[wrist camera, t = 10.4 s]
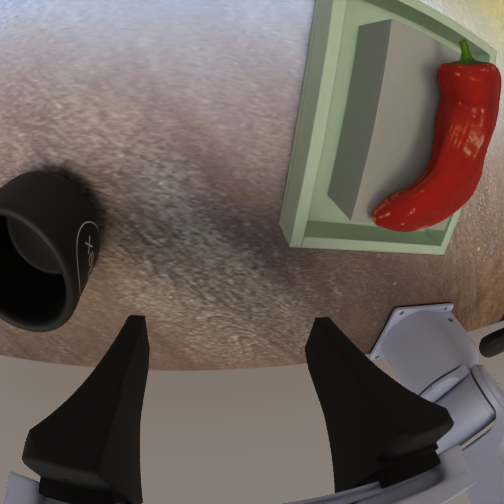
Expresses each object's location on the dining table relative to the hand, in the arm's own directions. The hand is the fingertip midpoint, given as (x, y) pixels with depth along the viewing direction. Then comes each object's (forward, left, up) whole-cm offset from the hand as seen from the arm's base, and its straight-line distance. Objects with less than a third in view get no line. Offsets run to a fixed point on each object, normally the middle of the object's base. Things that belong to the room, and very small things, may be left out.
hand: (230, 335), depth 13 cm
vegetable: (-11, -9, -6) cm, 15 cm away
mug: (+14, 0, -11) cm, 18 cm away
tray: (-11, -9, -10) cm, 18 cm away
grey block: (-11, -9, -10) cm, 18 cm away
